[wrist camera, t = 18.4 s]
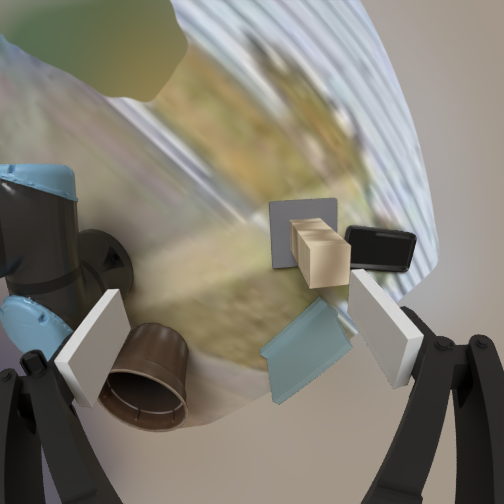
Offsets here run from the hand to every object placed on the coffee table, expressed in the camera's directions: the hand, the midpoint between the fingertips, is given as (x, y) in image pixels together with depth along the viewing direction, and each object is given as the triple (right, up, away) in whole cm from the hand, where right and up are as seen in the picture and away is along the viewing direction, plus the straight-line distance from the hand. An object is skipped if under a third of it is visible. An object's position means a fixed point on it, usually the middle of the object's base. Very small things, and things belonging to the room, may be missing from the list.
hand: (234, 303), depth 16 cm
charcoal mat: (+9, +6, +32) cm, 34 cm away
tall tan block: (+9, +6, +31) cm, 33 cm away
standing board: (+10, -12, +39) cm, 42 cm away
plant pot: (-18, -16, +39) cm, 46 cm away
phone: (+24, +3, +34) cm, 42 cm away
